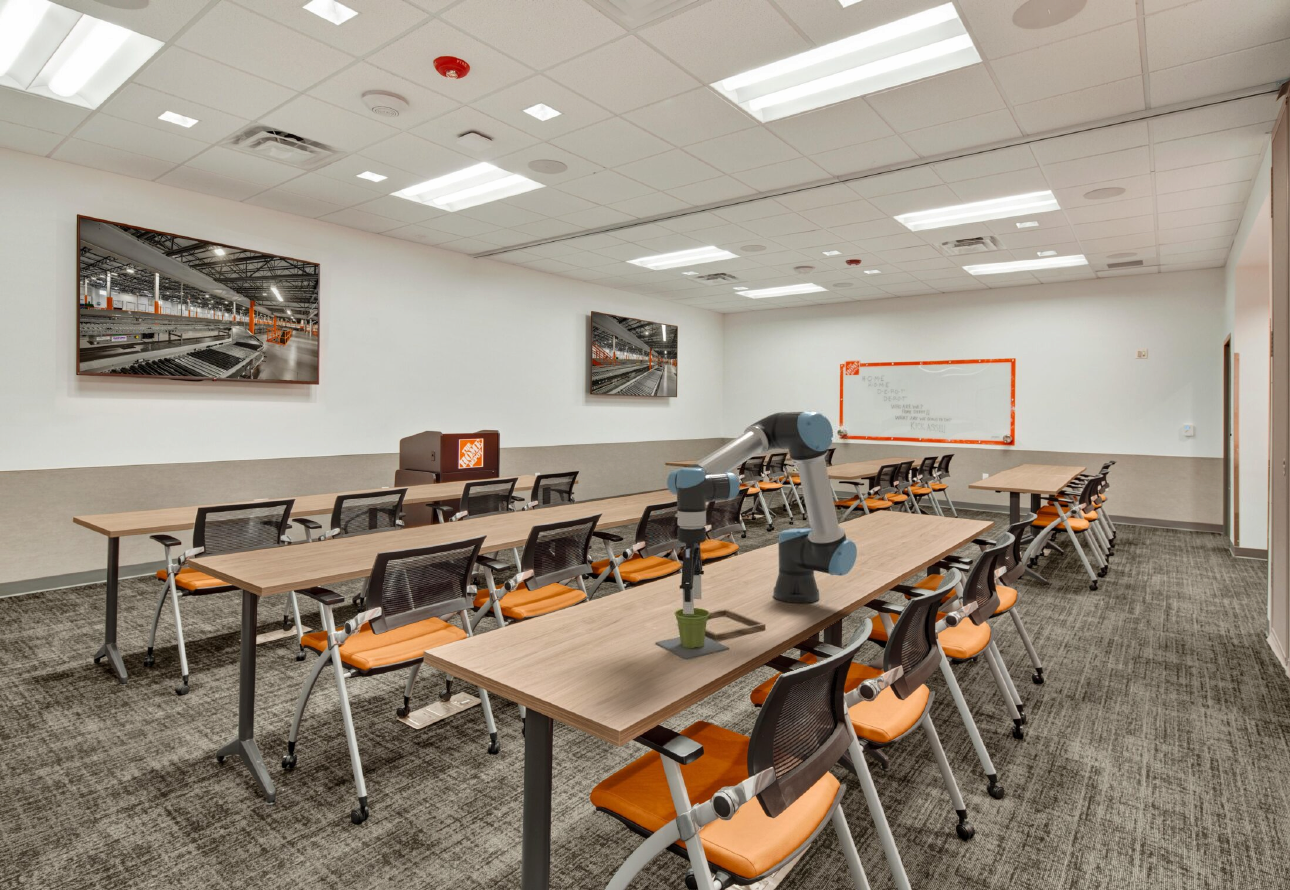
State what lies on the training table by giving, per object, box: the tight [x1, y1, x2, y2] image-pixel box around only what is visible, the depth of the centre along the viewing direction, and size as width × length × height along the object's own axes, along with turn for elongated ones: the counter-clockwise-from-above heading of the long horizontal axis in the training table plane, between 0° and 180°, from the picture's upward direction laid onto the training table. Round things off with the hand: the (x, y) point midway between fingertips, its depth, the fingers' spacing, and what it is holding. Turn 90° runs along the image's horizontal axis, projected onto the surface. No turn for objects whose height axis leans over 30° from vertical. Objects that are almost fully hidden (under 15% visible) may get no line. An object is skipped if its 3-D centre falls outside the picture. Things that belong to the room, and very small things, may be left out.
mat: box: [655, 636, 730, 661], centre depth 173 cm, size 14×14×1 cm
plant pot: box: [673, 607, 710, 648], centre depth 173 cm, size 9×9×9 cm
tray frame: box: [705, 608, 766, 642], centre depth 190 cm, size 18×18×2 cm
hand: (692, 606), depth 173 cm, fingers open, 13 cm apart
